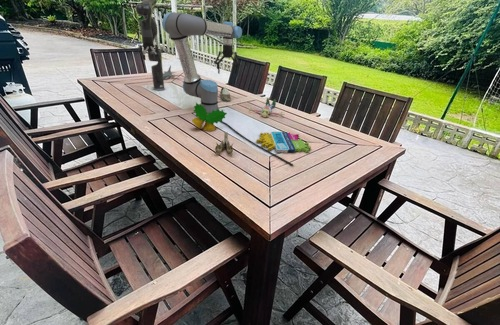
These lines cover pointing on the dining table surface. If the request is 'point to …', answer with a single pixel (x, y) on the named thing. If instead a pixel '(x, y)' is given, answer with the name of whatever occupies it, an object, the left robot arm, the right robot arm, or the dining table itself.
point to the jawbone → (224, 145)
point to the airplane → (168, 74)
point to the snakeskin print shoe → (225, 94)
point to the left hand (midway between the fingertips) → (149, 59)
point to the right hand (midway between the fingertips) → (227, 73)
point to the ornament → (207, 117)
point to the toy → (267, 109)
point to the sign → (283, 142)
